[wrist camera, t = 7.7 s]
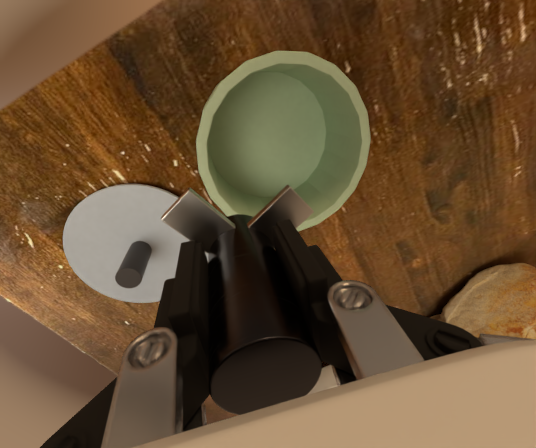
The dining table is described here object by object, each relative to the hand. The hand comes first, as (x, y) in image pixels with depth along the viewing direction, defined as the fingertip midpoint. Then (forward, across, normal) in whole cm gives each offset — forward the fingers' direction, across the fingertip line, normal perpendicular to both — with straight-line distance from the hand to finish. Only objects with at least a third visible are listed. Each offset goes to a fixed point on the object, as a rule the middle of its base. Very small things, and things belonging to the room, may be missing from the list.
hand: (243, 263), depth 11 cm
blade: (+2, 0, 0) cm, 2 cm away
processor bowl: (+21, -5, -1) cm, 22 cm away
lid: (+21, +11, +9) cm, 25 cm away
